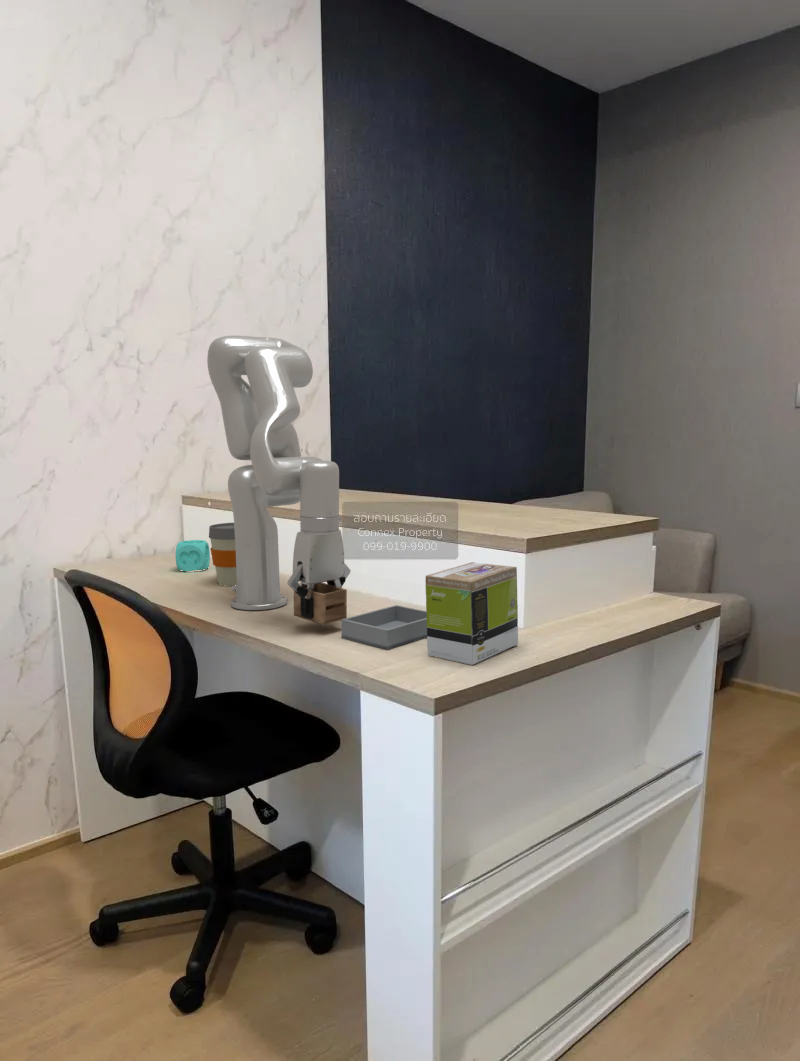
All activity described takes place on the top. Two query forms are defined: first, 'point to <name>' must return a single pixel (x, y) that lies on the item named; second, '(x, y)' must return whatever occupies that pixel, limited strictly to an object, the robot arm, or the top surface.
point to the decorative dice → (192, 555)
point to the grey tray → (386, 627)
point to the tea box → (471, 612)
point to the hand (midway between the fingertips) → (320, 612)
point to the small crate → (325, 604)
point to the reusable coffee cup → (224, 552)
